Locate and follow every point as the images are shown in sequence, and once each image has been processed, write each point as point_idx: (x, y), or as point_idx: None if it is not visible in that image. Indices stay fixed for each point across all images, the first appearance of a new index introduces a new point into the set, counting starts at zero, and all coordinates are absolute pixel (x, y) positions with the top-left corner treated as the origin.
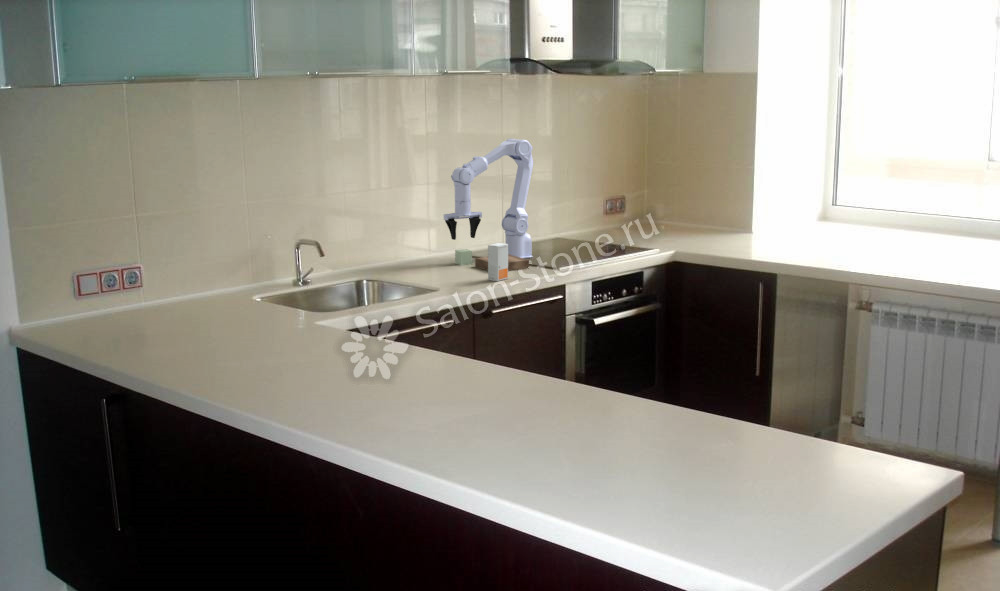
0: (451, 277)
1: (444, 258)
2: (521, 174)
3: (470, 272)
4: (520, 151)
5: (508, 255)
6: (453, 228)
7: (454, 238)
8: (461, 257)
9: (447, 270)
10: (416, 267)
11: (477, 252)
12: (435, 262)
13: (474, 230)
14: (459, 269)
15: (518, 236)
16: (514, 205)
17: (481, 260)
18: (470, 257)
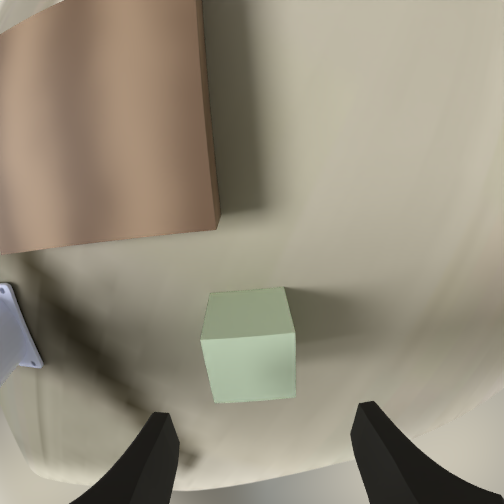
0: (453, 20)
1: (274, 441)
2: None
3: (331, 53)
4: None
5: (6, 217)
6: (436, 471)
7: (376, 406)
8: (286, 310)
9: (416, 183)
10: (467, 322)
11: None
12: (352, 392)
13: (140, 464)
14: (351, 172)
15: None
16: None
17: (205, 132)
18: (217, 313)
